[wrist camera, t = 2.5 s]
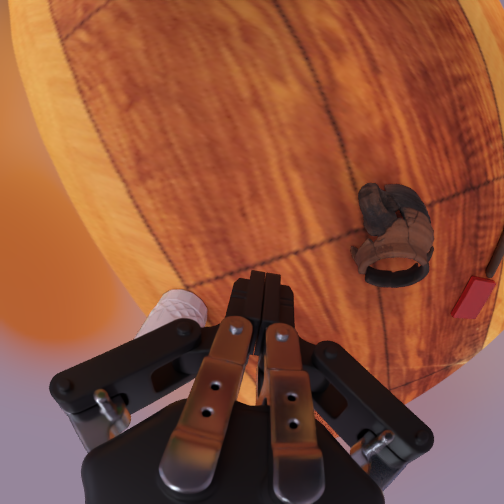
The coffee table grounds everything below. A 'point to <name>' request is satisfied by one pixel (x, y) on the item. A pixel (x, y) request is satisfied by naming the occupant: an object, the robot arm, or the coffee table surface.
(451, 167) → the coffee table surface
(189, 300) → the white cup
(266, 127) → the coffee table surface
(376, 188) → the dark brown curved piece
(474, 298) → the spatula
